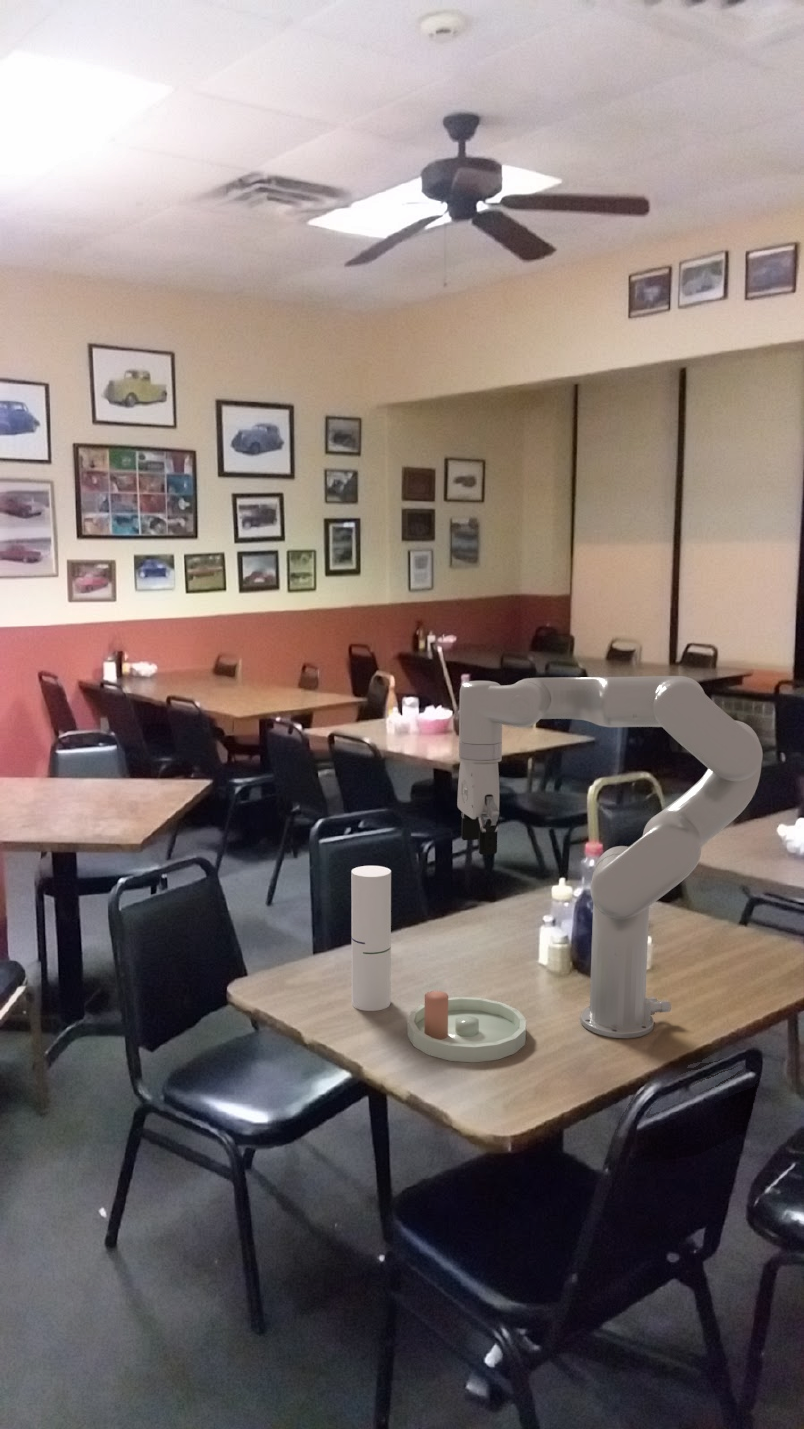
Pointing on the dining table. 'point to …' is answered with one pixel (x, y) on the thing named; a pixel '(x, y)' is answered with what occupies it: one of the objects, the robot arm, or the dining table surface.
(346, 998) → the dining table surface
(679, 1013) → the dining table surface
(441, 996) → the orange cylinder
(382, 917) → the cylindrical container
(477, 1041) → the groove tray
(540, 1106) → the dining table surface
